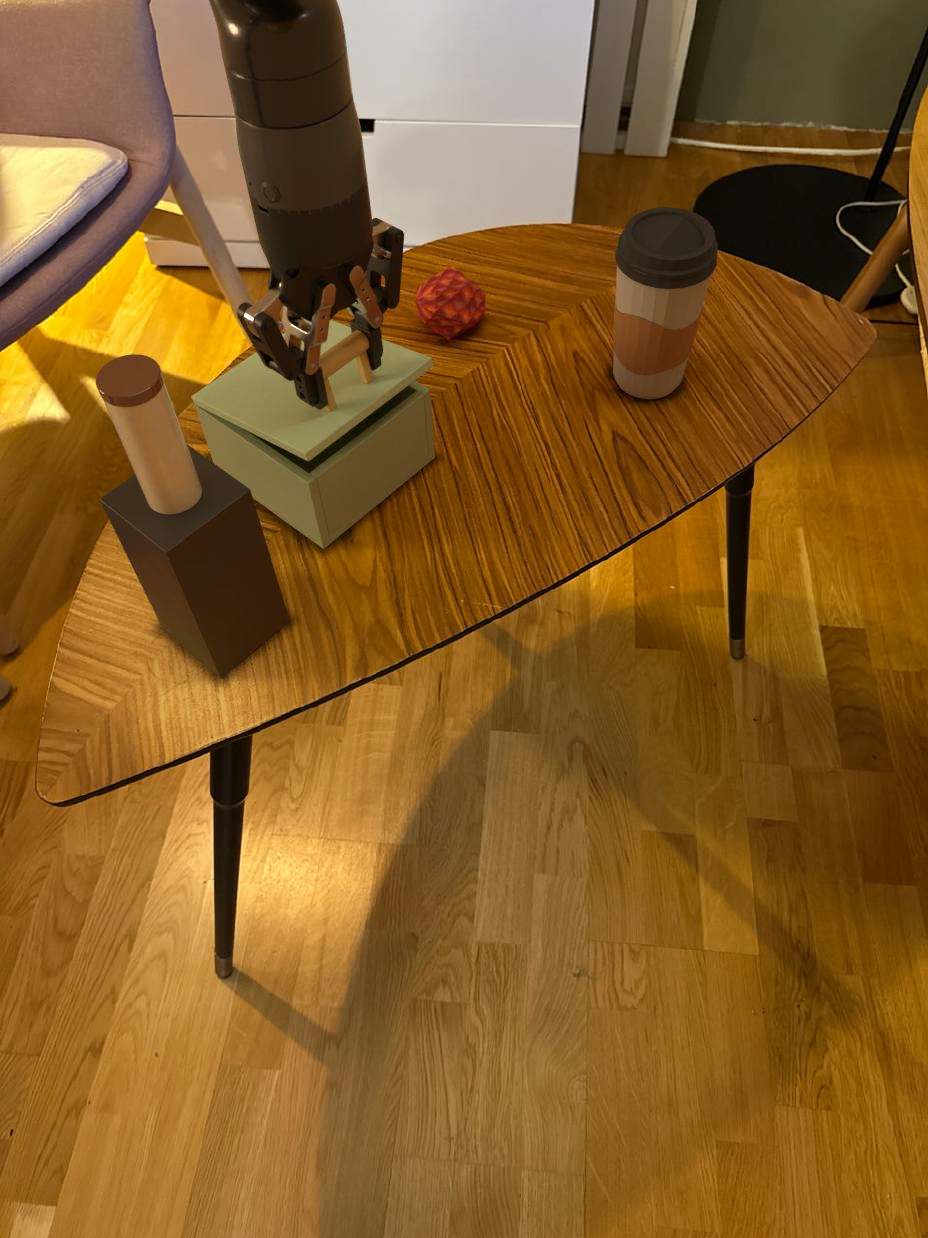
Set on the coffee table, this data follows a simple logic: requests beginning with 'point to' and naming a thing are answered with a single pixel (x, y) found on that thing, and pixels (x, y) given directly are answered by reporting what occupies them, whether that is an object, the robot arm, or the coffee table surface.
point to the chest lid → (292, 423)
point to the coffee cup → (659, 297)
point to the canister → (150, 432)
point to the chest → (330, 465)
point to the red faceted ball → (450, 303)
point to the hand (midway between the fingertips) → (342, 382)
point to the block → (203, 566)
